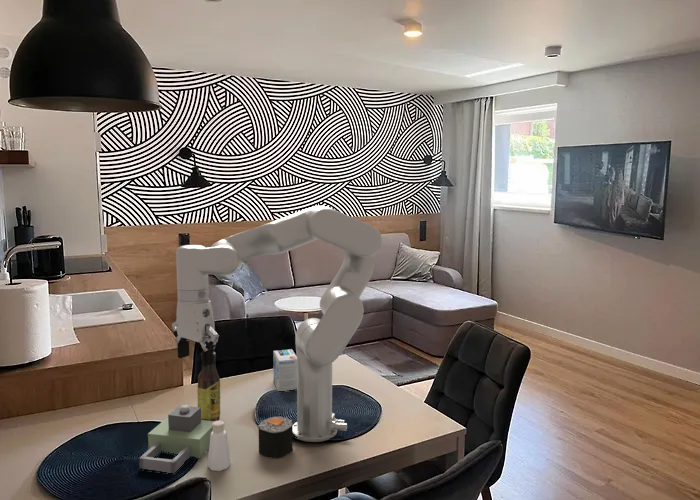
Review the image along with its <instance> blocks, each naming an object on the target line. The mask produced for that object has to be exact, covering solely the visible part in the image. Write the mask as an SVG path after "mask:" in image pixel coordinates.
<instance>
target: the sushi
mask: <svg viewBox="0 0 700 500" xmlns="http://www.w3.org/2000/svg"><path fill="white" fill-rule="evenodd" d="M293 425H294V423H293V420H292V419H289V418H288V417H286V416H285V417H283V416H280V415H279V416H273V417H268V418H266V419H263V420H262V421H260V422H259V425H257V427H258V453H259V454H260V455H261V456H263V457H266V458H270V459H280V458H283V457H285V456H287V455H288V454H290V453H291V452H292V451H293V449H294V448H293V435H292V426H293Z"/></svg>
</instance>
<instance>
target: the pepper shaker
mask: <svg viewBox="0 0 700 500" xmlns="http://www.w3.org/2000/svg"><path fill="white" fill-rule="evenodd" d="M212 425H213V431H212V433H211V435H210V445H209V449H208V459H207V467H208V468H209V469H210V470H211V471H215V472H221V471H223V470H227V469H229V466H231V456H230V448H229V441H228V435H227V431H226V430H225V422H224V421H223V420H219V421H215V422H213V423H212Z"/></svg>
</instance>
